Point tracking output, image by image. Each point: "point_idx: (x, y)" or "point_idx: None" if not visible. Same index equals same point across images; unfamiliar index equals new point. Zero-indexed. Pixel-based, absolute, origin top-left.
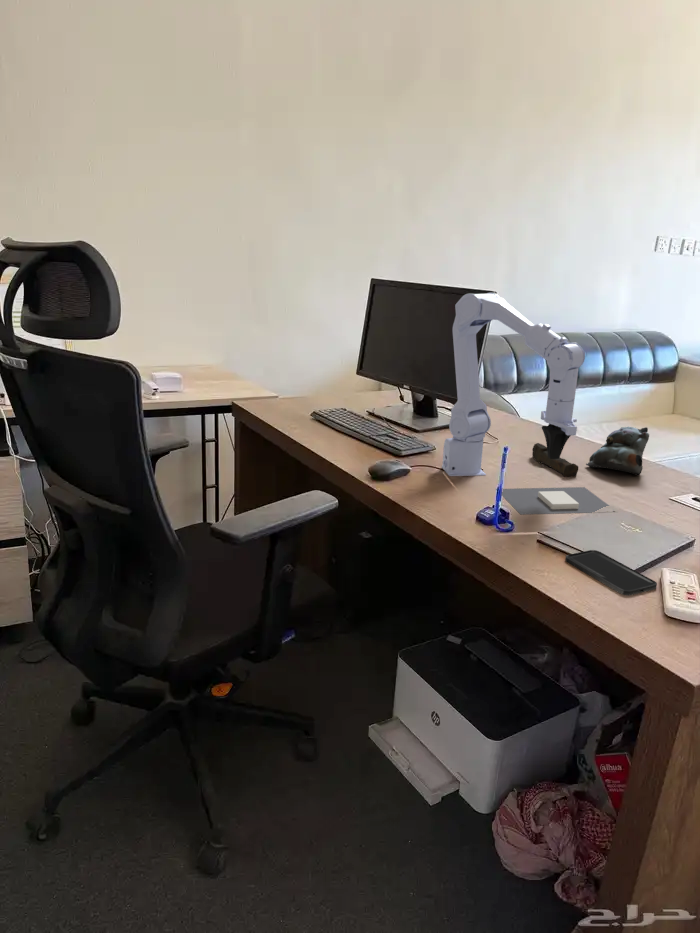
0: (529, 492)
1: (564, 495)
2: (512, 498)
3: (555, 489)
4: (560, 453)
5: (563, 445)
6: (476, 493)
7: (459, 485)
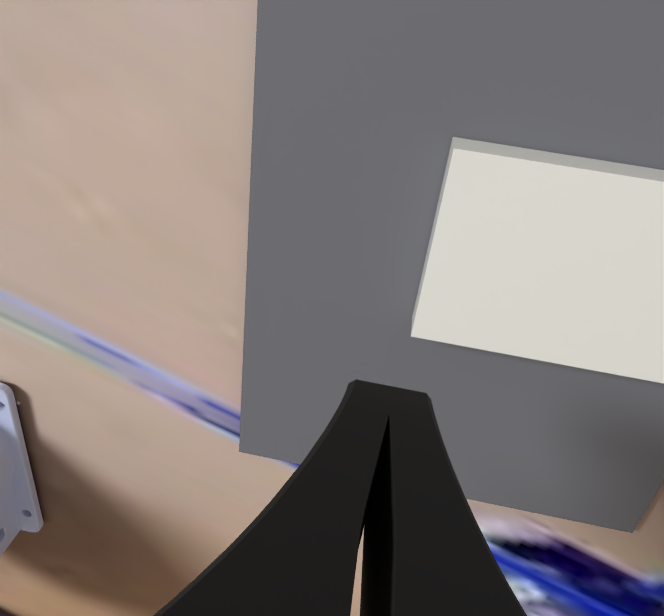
0: (324, 320)
1: (552, 204)
2: None
3: (296, 104)
4: (439, 445)
5: (491, 569)
6: None
7: (157, 537)
